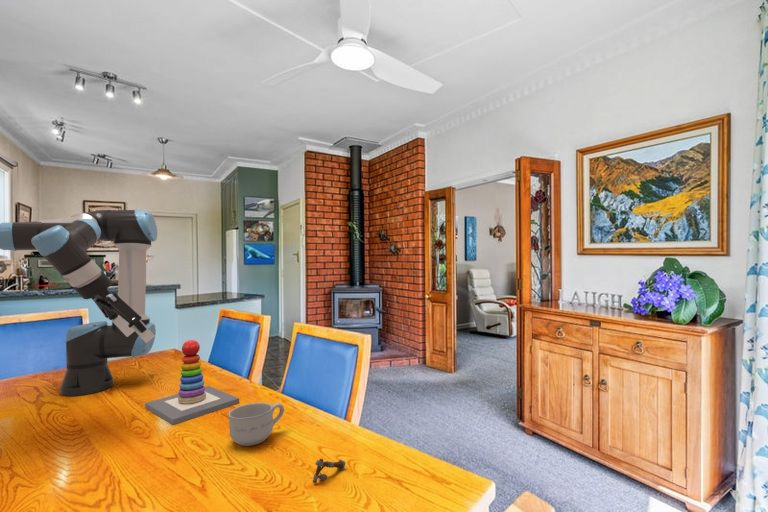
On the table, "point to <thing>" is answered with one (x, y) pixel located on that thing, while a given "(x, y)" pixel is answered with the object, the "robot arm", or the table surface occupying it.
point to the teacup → (253, 422)
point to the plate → (190, 406)
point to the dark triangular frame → (327, 464)
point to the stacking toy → (191, 375)
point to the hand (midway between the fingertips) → (140, 336)
